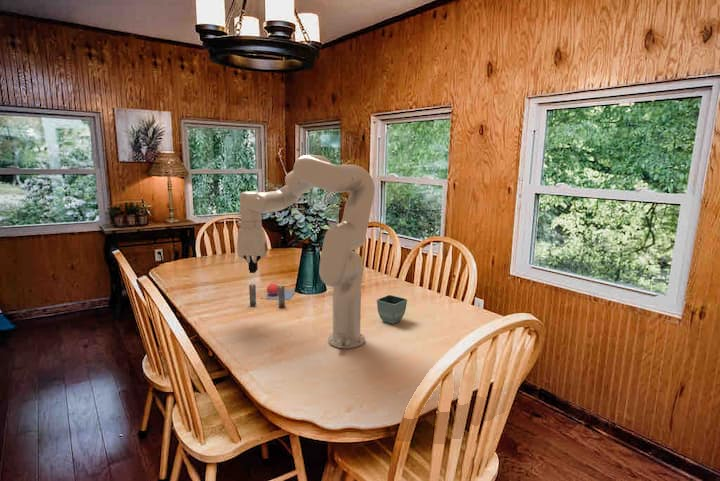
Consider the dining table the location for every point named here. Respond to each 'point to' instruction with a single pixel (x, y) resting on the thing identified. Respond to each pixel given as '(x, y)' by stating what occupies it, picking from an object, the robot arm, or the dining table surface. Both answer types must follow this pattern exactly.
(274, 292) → the ball
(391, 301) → the flower pot
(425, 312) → the dining table surface
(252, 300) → the post left
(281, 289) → the post right
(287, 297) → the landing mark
